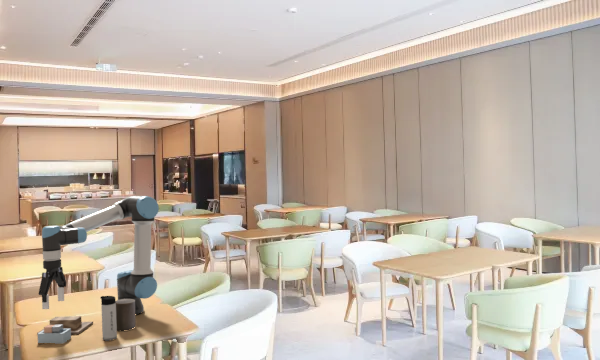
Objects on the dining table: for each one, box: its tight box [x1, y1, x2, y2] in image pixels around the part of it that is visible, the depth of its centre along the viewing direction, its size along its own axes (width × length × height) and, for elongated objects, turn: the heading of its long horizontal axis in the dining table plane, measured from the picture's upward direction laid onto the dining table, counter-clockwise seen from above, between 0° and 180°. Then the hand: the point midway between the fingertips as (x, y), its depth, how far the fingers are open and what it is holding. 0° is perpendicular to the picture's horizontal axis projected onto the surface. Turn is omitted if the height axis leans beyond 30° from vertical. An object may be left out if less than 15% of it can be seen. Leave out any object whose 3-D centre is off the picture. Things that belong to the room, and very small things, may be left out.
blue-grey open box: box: [37, 328, 72, 344], centre depth 228 cm, size 12×7×5 cm, turn 87°
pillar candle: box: [115, 299, 136, 332], centre depth 244 cm, size 10×10×15 cm
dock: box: [36, 315, 94, 336], centre depth 245 cm, size 20×16×6 cm
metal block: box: [52, 324, 63, 333], centre depth 228 cm, size 4×4×4 cm
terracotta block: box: [43, 324, 54, 333], centre depth 228 cm, size 4×4×4 cm
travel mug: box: [100, 295, 118, 342], centre depth 229 cm, size 6×7×20 cm
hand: (53, 304), depth 228 cm, fingers open, 13 cm apart
